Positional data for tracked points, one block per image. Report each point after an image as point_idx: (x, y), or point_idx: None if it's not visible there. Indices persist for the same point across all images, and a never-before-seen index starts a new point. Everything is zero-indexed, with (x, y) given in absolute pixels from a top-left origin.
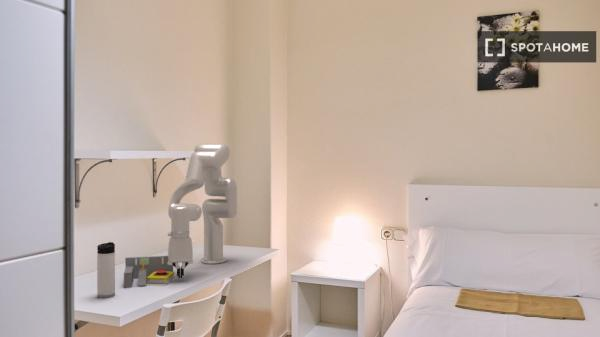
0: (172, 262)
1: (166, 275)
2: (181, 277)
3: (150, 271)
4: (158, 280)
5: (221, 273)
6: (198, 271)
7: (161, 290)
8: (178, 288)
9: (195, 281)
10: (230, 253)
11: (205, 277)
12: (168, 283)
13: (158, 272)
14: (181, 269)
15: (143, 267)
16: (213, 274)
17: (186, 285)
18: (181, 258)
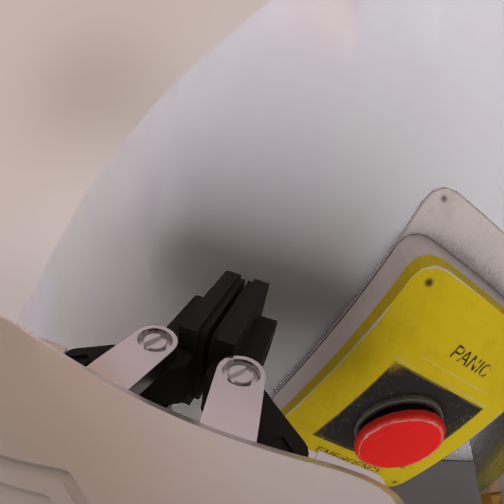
0: (328, 463)
1: (383, 370)
2: (233, 275)
3: (416, 490)
4: (488, 294)
5: (21, 313)
6: None
7: (499, 42)
8: (334, 15)
9: (131, 209)
10: None
11: (71, 286)
12: (392, 249)
13: (442, 427)
14: (192, 326)
15: (495, 498)
16: (45, 321)
17: (230, 93)
18: (59, 440)
